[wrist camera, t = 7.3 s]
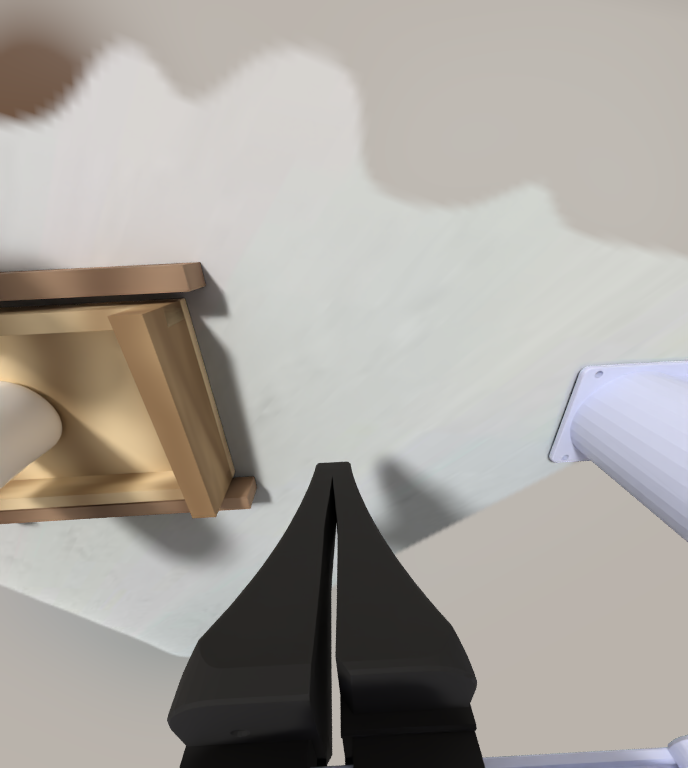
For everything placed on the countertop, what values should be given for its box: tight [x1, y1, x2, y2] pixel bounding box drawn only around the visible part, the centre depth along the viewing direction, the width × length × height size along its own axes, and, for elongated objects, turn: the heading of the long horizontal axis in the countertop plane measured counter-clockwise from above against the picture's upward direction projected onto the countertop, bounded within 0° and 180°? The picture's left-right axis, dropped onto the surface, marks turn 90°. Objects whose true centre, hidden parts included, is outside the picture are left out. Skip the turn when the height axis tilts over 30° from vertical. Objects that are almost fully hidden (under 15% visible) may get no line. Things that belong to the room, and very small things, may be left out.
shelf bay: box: [0, 262, 257, 524], centre depth 17 cm, size 21×17×3 cm
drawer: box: [0, 298, 235, 518], centre depth 17 cm, size 18×13×4 cm
